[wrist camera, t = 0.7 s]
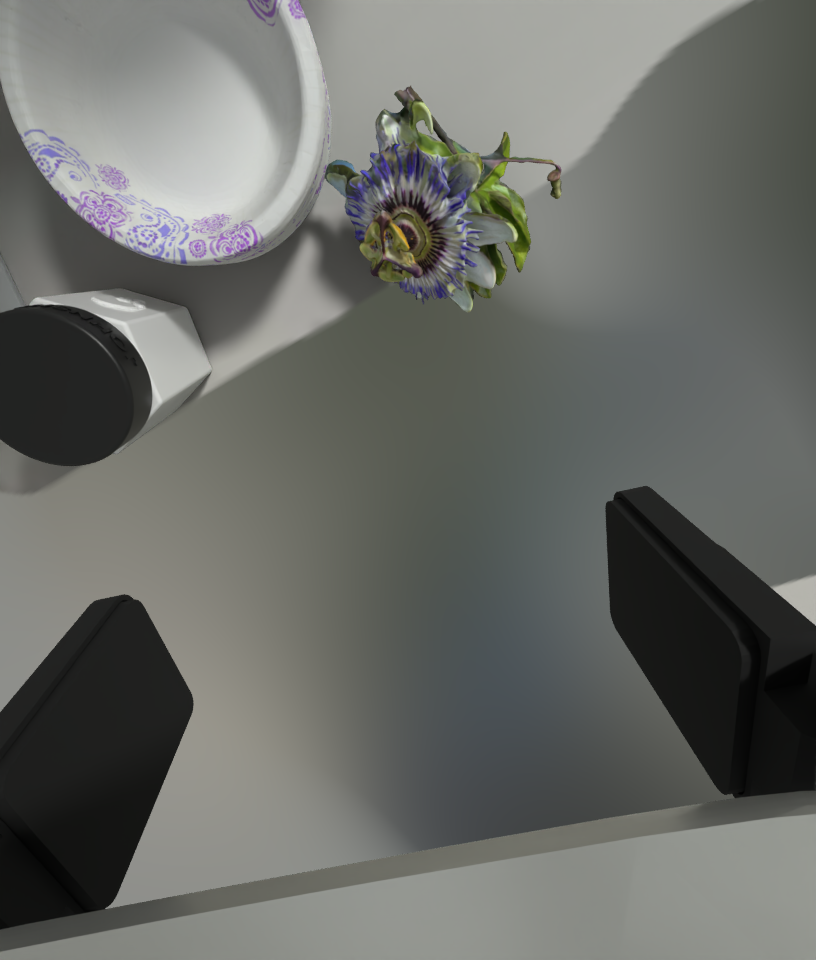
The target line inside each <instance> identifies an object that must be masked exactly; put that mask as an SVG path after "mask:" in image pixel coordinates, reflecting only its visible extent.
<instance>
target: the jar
mask: <svg viewBox="0 0 816 960" xmlns="http://www.w3.org/2000/svg"><path fill="white" fill-rule="evenodd" d="M211 371H212V368H211V366H210V363H209V361H208V358H207V356H206V353H205V351H204V348H203V346H202V343H201V341H200V338H199V336H198V333H197V331H196V328H195V326H194V323H193V321H192V318H191V316H190V313H189V311H188V309H187V308H186V307H184V306H180V305H177V304H173V303H170V302H166V301H163V300H160V299H156V298H153V297H149V296H146V295H142V294H139V293H136V292H132V291H129V290H125V289H122V288H117V289H108V290H99V291H90V292H81V293H72V294H63V295H54V296H44V297H36V298H34V299H33V300H32V301H31V303H30V304H29V305H28V306H23V307H17V308H14V309H13V310H8V311H5V312H1V313H0V439H1V440H2V441H3V442H5V443H6V444H7V445H9V446H10V447H12V448H13V449H15V450H17V451H18V452H20V453H22V454H24V455H26V456H28V457H31V458H33V459H36V460H39V461H42V462H45V463H49V464H54V465H61V466H80V465H86V464H90V463H94V462H97V461H100V460H102V459H104V458H106V457H108V456H109V455H111V454H118V453H120V452H121V451H122V450H124V449H125V448H126V447H128V446H129V445H130V444H132V443H133V442H134V441H136V440H137V439H138V438H140V437H141V436H142V435H144V434H145V433H147V432H148V431H149V430H151V429H152V428H153V427H155V426H156V425H157V424H159V423H160V422H161V421H163V420H164V419H165V418H167V417H168V416H169V415H171V414H172V413H174V412H175V411H176V410H177V409H178V408H179V407H180V406H181V405H182V403H183V402H184V401H185V400H186V399H187V398H188V397H189V396H190V395H191V393H192V392H193V391H194V390H195V389H196V388H197V387H198V386H199V385H200V384H201V382H202V381H203V380H204V379H205V378H206V377H207V376H208V375H209V374H210V372H211Z"/></svg>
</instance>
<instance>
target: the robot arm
mask: <svg viewBox="0 0 816 960" xmlns="http://www.w3.org/2000/svg"><path fill="white" fill-rule="evenodd" d="M606 528H607V529H606V531H607V552H608V574H609V597H610V613H611V617H612V621H613V624H614V626H615V628H616V630H617V631H618V633H619V635H620V636H621V638H622V639H623V641H624V643H625V644H626V646H627V647H628V649H629V651H630V652H631V654H632V655H633V657H634V658H635V660H636V661H637V663H638V665H639V666H640V668H641V669H642V671H643V673H644V674H645V676H646V677H647V679H648V680H649V682H650V684H651V685H652V687H653V688H654V690H655V691H656V693H657V695H658V696H659V698H660V699H661V701H662V703H663V704H664V706H665V707H666V709H667V710H668V712H669V714H670V715H671V717H672V718H673V720H674V721H675V723H676V725H677V726H678V728H679V729H680V731H681V733H682V734H683V736H684V737H685V739H686V740H687V742H688V744H689V745H690V747H691V748H692V750H693V752H694V753H695V755H696V756H697V758H698V759H699V761H700V763H701V764H702V766H703V767H704V768H705V770H706V772H707V773H708V775H709V776H710V778H711V780H712V781H713V783H714V785H715V786H716V787H717V789H718V790H719V791H720V792H721V793H723V794H724V795H727V794H733V796H734V797H735V798H734V799H727V800H720V801H714V802H707V803H702V804H695V805H688V806H682V807H676V808H669V809H664V810H657V811H650V812H644V813H637V814H631V815H625V816H618V817H612V818H606V819H600V820H595V821H589V822H584V823H578V824H572V825H566V826H561V827H555V828H549V829H544V830H538V831H533V832H527V833H521V834H516V835H510V836H504V837H498V838H493V839H487V840H481V841H476V842H470V843H465V844H458V845H453V846H447V847H441V848H436V849H430V850H424V851H419V852H413V853H408V854H402V855H397V856H391V857H386V858H381V859H376V860H369V861H364V862H358V863H353V864H348V865H342V866H336V867H331V868H325V869H320V870H315V871H309V872H303V873H298V874H292V875H287V876H282V877H277V878H270V879H265V880H260V881H254V882H249V883H243V884H238V885H232V886H227V887H221V888H216V889H210V890H205V891H200V892H195V893H189V894H184V895H179V896H173V897H168V898H163V899H157V900H152V901H147V902H142V903H137V904H131V905H125V906H120V907H115V908H110V909H105V908H106V907H108V906H109V905H110V904H111V903H112V902H113V901H114V899H115V897H116V896H117V893H118V891H119V889H120V887H121V884H122V882H123V879H124V877H125V874H126V872H127V870H128V867H129V865H130V862H131V860H132V858H133V855H134V853H135V850H136V848H137V845H138V843H139V841H140V838H141V836H142V833H143V831H144V828H145V826H146V823H147V821H148V819H149V816H150V814H151V811H152V809H153V807H154V804H155V802H156V799H157V797H158V795H159V792H160V790H161V787H162V785H163V782H164V780H165V778H166V775H167V773H168V770H169V768H170V765H171V763H172V761H173V758H174V756H175V753H176V751H177V748H178V746H179V744H180V741H181V739H182V736H183V734H184V731H185V729H186V727H187V724H188V722H189V719H190V717H191V714H192V711H193V697H192V694H191V692H190V690H189V688H188V686H187V685H186V683H185V681H184V679H183V677H182V675H181V674H180V672H179V670H178V668H177V666H176V664H175V663H174V661H173V659H172V657H171V655H170V653H169V652H168V650H167V648H166V646H165V644H164V642H163V641H162V639H161V637H160V635H159V633H158V631H157V630H156V628H155V626H154V624H153V622H152V620H151V619H150V617H149V615H148V613H147V611H146V609H145V608H144V606H143V604H142V603H141V602H140V601H139V600H134V599H133V598H132V597H130V596H129V595H125V594H124V595H119V596H114V597H110V598H105V599H100V600H96V601H94V602H93V603H92V604H90V606H89V607H88V608H87V609H86V610H85V612H84V613H83V614H82V615H81V617H79V619H78V620H77V621H76V622H75V623H74V625H73V626H72V627H71V628H70V630H69V631H68V632H67V633H66V634H65V636H64V637H63V638H62V639H61V640H60V641H59V643H58V644H57V645H56V646H55V648H54V649H53V650H52V651H51V652H50V653H49V655H48V656H47V657H46V658H45V659H44V661H43V662H42V663H41V664H40V665H39V667H38V668H37V669H36V670H35V672H34V673H33V674H32V675H31V676H30V677H29V679H28V680H27V681H26V682H25V684H24V685H23V686H22V687H21V688H20V689H19V691H18V692H17V693H16V694H15V695H14V697H13V698H12V699H11V700H10V701H9V703H8V704H7V705H6V706H5V707H4V709H3V710H2V711H1V712H0V960H816V626H815V625H814V624H813V623H812V622H811V621H809V620H808V619H807V618H806V617H805V616H804V615H802V614H801V613H800V612H799V611H798V610H796V609H795V608H794V607H793V606H792V605H791V604H789V603H788V602H787V601H786V600H785V599H783V598H782V597H781V596H780V595H779V594H778V593H776V592H775V591H774V590H773V589H772V588H770V587H769V586H768V585H767V584H766V583H764V582H763V581H762V580H761V579H760V578H759V577H757V576H756V575H755V574H754V573H753V572H752V571H750V570H749V569H748V568H747V567H745V566H744V565H743V564H742V563H741V562H739V561H738V560H737V559H736V558H735V557H734V556H733V555H731V554H730V553H729V552H728V551H727V550H726V549H724V548H723V547H721V546H719V545H718V544H716V543H715V542H714V541H712V540H711V539H710V538H709V537H708V536H706V535H705V534H704V533H703V532H702V531H701V530H699V529H698V528H697V527H696V526H695V525H694V524H692V523H691V522H690V521H689V520H688V519H687V518H685V517H684V516H683V515H682V514H681V513H680V512H678V511H677V510H676V509H675V508H674V507H672V506H671V505H670V504H669V503H668V502H667V501H665V500H664V499H663V498H662V497H661V496H660V495H658V494H657V493H656V492H655V491H654V490H653V489H651V488H650V487H648V486H643V487H638V488H634V489H629V490H624V491H619V492H616V493H615V495H614V500H613V501H608V502H607V503H606Z"/></svg>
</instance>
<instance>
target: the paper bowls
mask: <svg viewBox="0 0 816 960" xmlns="http://www.w3.org/2000/svg"><path fill="white" fill-rule="evenodd" d="M0 81H1V85H2V89H3V93H4V96H5V100H6V103H7V106H8V109H9V112H10V114H11V117H12V120H13V123H14V125H15V127H16V129H17V131H18V133H19V135H20V137H21V140H22V142H23V143H24V145H25V147H26V149H27V151H28V153H29V154H30V156H31V158H32V159H33V161H34V162H35V165H36V166H37V167H38V169H39V170H40V172H41V173H42V175H43V176H44V177H45V179H46V180H47V181H48V183H49V184H50V185H51V187H52V188H53V189H54V190H55V191H56V193H57V194H58V195H59V196H60V197H61V199H62V200H64V202H65V203H66V204H67V205H68V206H69V207H70V208H71V209H72V210H73V211H74V212H75V213H76V214H77V215H79V216H80V217H81V218H82V219H83V220H84V221H86V222H87V223H88V224H90V225H91V226H92V227H93V228H94V229H96V230H97V231H99V232H100V233H101V234H103V235H104V236H106V237H107V238H109V239H111V240H113V241H114V242H116V243H118V244H120V245H122V246H123V247H126V248H127V249H129V250H131V251H134V252H136V253H138V254H141V255H143V256H146V257H149V258H152V259H156V260H159V261H163V262H167V263H172V264H178V265H185V266H205V265H221V264H231V263H238V262H243V261H247V260H250V259H254V258H256V257H259V256H261V255H263V254H265V253H267V252H269V251H270V250H272V249H273V248H275V247H277V246H278V245H279V244H281V243H282V242H283V241H285V240H286V239H287V238H288V237H289V236H290V235H291V234H293V233H294V231H295V230H296V229H297V228H298V227H299V226H300V225H301V224H302V222H303V221H304V219H305V218H306V216H307V215H308V213H309V211H310V210H311V209H312V207H313V205H314V203H315V201H316V199H317V197H318V195H319V193H320V190H321V188H322V185H323V182H324V178H325V173H326V169H327V166H328V161H329V156H330V147H331V131H332V116H331V109H330V103H329V96H328V91H327V85H326V80H325V76H324V73H323V69H322V65H321V62H320V58H319V54H318V51H317V48H316V44H315V41H314V37H313V34H312V32H311V29H310V25H309V23H308V20H307V18H306V16H305V14H304V12H303V10H302V7H301V5H300V3H299V1H298V0H0Z"/></svg>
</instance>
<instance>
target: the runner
mask: <svg viewBox="0 0 816 960" xmlns="http://www.w3.org/2000/svg"><path fill="white" fill-rule="evenodd" d="M23 306H25V304H24V302H23V300H22V298H21V296H20V294H19V292H18V289H17V287H16V285H15V283H14V281H13V279H12V277H11V275H10V273H9V271H8V269H7V267H6V265H5V263H4V260H3V258H2V256H1V254H0V313H1V312H5V311H8V310H13V309H14V308H17V307H23Z"/></svg>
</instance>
